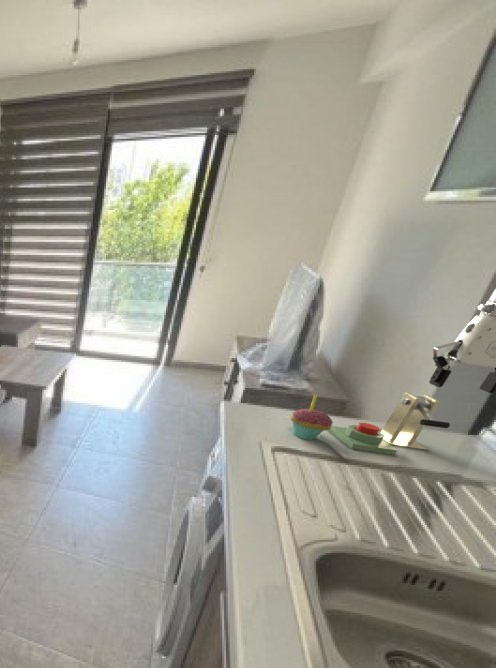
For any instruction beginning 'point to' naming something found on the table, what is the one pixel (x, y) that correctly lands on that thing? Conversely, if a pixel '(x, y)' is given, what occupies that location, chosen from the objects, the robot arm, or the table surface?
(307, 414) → the cupcake
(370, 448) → the button box
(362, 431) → the button
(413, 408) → the bracket
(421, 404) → the lever
